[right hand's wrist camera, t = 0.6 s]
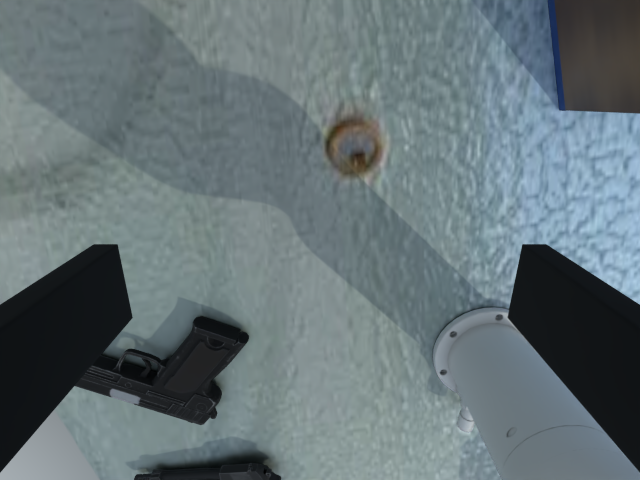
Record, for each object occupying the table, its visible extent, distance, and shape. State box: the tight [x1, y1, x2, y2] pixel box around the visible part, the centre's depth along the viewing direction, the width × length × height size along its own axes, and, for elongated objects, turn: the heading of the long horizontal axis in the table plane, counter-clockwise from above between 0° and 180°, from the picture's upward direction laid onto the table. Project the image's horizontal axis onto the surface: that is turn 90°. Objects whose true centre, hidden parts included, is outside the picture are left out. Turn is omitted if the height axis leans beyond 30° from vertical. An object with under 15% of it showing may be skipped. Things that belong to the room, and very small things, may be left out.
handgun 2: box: [75, 316, 249, 425], centre depth 45 cm, size 3×21×14 cm
